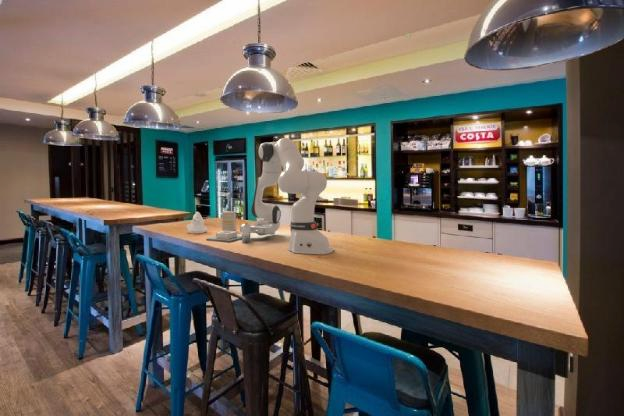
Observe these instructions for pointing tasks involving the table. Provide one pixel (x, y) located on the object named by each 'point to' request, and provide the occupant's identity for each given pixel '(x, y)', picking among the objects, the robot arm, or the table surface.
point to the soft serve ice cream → (197, 224)
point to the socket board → (225, 236)
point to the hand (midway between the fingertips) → (249, 231)
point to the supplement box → (229, 221)
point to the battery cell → (246, 233)
